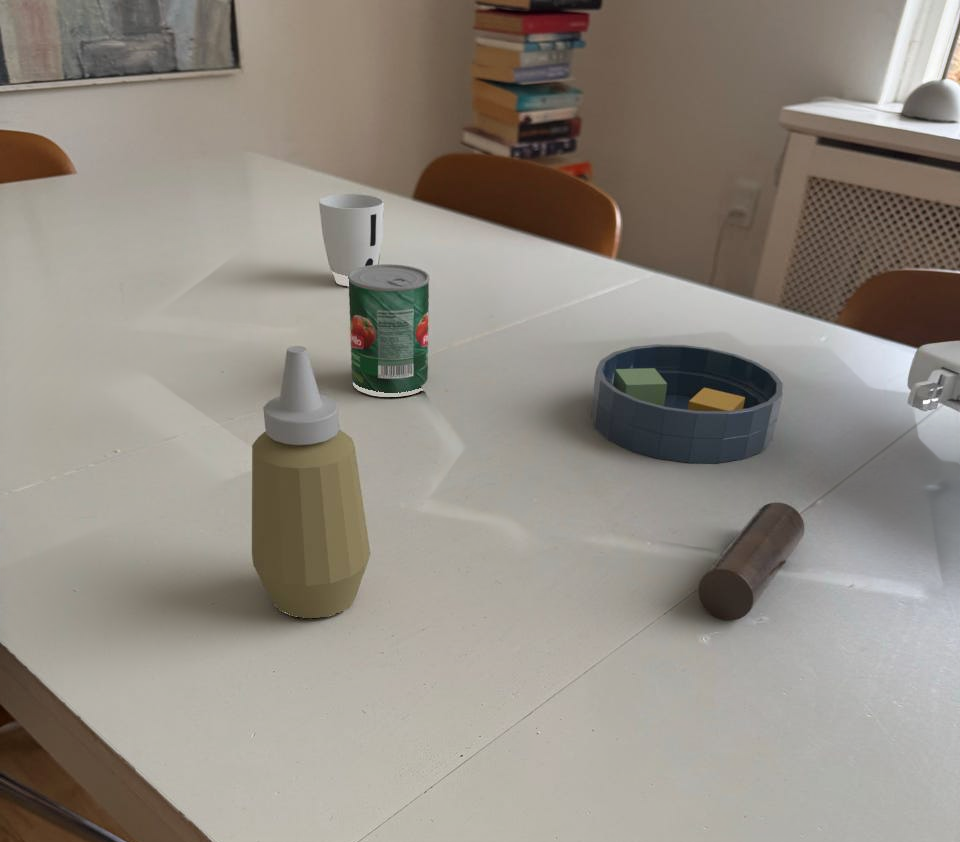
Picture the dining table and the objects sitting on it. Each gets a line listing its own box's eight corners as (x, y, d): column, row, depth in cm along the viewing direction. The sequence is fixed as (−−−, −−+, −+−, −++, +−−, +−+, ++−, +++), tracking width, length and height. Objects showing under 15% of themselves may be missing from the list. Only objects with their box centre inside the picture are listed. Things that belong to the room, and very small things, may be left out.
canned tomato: (336, 380, 104) (331, 271, 97) (398, 364, 108) (397, 259, 101) (381, 405, 99) (379, 292, 92) (443, 387, 103) (445, 279, 97)
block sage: (648, 407, 99) (654, 368, 97) (661, 423, 96) (667, 383, 94) (609, 408, 98) (614, 368, 96) (621, 424, 95) (626, 384, 93)
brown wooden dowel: (744, 516, 79) (686, 583, 71) (785, 493, 76) (731, 560, 68) (772, 557, 79) (719, 629, 71) (815, 535, 77) (764, 607, 68)
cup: (376, 293, 127) (375, 210, 122) (315, 288, 128) (310, 205, 122) (391, 276, 134) (390, 196, 128) (332, 270, 135) (329, 191, 129)
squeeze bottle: (395, 598, 71) (392, 350, 61) (307, 646, 66) (287, 385, 56) (320, 556, 75) (304, 318, 65) (232, 598, 70) (200, 347, 60)
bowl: (742, 397, 104) (752, 345, 101) (794, 472, 90) (808, 414, 87) (579, 395, 103) (584, 342, 100) (606, 470, 89) (614, 412, 86)
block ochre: (737, 437, 94) (745, 397, 92) (722, 452, 91) (731, 411, 89) (696, 427, 96) (704, 387, 93) (681, 441, 93) (688, 400, 90)
